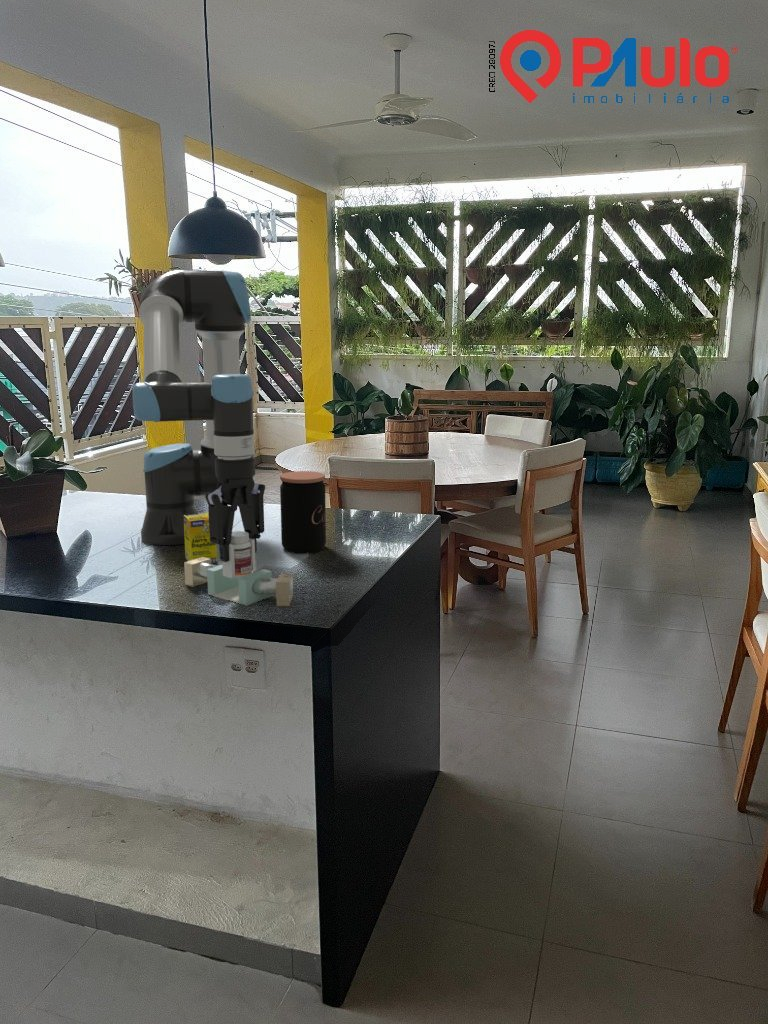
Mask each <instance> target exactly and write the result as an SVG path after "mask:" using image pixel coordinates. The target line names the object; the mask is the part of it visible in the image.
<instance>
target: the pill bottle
mask: <svg viewBox="0 0 768 1024" xmlns="http://www.w3.org/2000/svg"><path fill="white" fill-rule="evenodd" d="M248 541H249V533H248V532H245V531H244V530H242V531H241V530H239V531H232V536H231V543H230V544H231V545H234V560H235V578H241V577H244V576H247V575H249V574H252V573H253V571H252V556H251V543H250V542H248Z"/></svg>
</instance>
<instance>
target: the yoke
mask: <svg viewBox="0 0 768 1024" xmlns="http://www.w3.org/2000/svg"><path fill="white" fill-rule="evenodd" d="M258 578H273V571H271V570H268V569H265V568H264V569H261V570H258V571H254V572H252V574H249V575H247V576H244V577H241V578H229V577H226V576H223V568H222V564H220V565H216V567H213V568H210V569H207V581H208V582H207V594H208V595H210V596H213V597H216V598H219V599H222V600H225V601H228V600H230V601H229V602H232V601H233V602H232V603H235V602H236V603H235V604H238V603H239V605H241V604H242V606H245V607H249V606H250V605H254V604H256V603H258V601H259V602H260V601H263V599H264V600H267V599H269V598H272V597H273V595H271V594H254V593H253V591H252V585H253V583H254V582H255V580H257V579H258ZM266 598H267V599H266Z"/></svg>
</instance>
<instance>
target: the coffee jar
mask: <svg viewBox="0 0 768 1024" xmlns="http://www.w3.org/2000/svg"><path fill="white" fill-rule="evenodd" d="M325 478H326V475H325V474H324V473H323V472H319V471H312V470H311V471H310V470H308V471H307V470H294V471H287V472H284V473H281V474H280V475H279V479H280V481H281V483H280V485H279V493H280V494H279V495H280V496H279V499H280V501H279V502H280V531H281V534H280V535H281V537H280V539H281V545H282V548H283V549H284V551H285V552H288V553H292V554H300V555H303V554H313V553H318V552H320V551H322V550H323V549H324V548H325V546H326V543H327V527H326V523H327V521H326V518H327V517H326V516H327V515H326V506H327V505H326V484H325V483H324V481H325Z"/></svg>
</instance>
